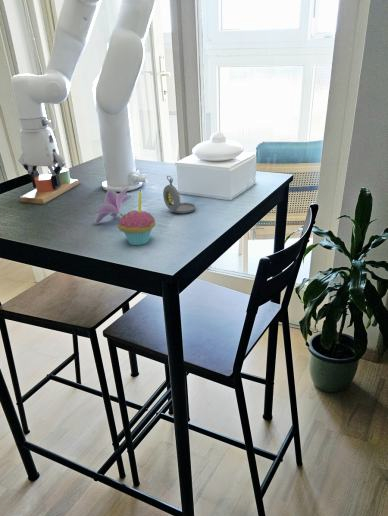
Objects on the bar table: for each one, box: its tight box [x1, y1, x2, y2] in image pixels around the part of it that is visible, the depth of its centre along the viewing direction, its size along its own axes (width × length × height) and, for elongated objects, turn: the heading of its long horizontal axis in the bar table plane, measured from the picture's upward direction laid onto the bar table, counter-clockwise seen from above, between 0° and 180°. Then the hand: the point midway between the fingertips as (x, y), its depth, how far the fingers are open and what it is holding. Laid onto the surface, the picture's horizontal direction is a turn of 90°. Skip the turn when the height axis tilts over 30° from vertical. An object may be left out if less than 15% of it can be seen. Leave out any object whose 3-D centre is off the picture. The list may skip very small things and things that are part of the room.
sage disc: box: [47, 167, 72, 185], centre depth 152 cm, size 6×6×4 cm
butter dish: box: [174, 131, 257, 201], centre depth 141 cm, size 18×18×16 cm
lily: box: [94, 187, 132, 225], centre depth 122 cm, size 12×12×10 cm
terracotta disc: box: [34, 173, 58, 192], centre depth 146 cm, size 6×6×4 cm
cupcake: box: [118, 188, 156, 246], centre depth 110 cm, size 9×8×12 cm
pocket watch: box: [162, 175, 196, 214], centre depth 127 cm, size 8×8×10 cm
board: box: [19, 178, 80, 205], centre depth 148 cm, size 8×20×2 cm, turn 161°
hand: (47, 186), depth 147 cm, fingers closed on terracotta disc, 6 cm apart
